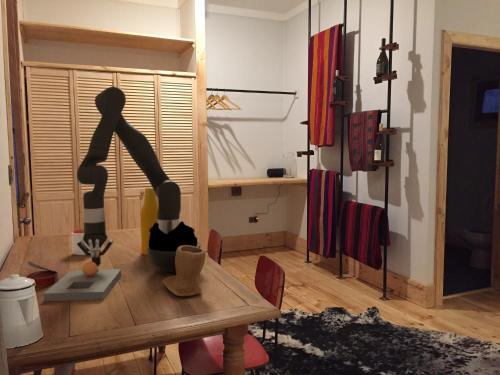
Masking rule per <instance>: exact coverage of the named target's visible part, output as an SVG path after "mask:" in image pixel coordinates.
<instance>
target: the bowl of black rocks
mask: <svg viewBox="0 0 500 375" xmlns="http://www.w3.org/2000/svg"><path fill="white" fill-rule="evenodd" d="M149 232H150V236H149V245H148V246H147V252H148V255H147V256H148V258H149V260H150V261H151V263H152V264H153V265H154V266H155V267H156V268H158V269H159V270H161V271H164V272H168V273H176V267H175V256H176V250H177V249H178V247H180V246H183V245H189V246H194V247H198V248H201V243H199V241H198V238H197V236H196V234H195V229H194V228H193V227H192V226H189V225H187V224H185V222H184V221H181V220H180V223H179V225H177V227H176V228H175V229H173V230H172V231H170V232H169V233H168V234H165V233H164V232H163V231H161V230H160V229H159V223H157V222H156V223H154V224H153V226H152V227H151V228H150V230H149Z"/></svg>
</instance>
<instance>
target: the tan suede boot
mask: <svg viewBox="0 0 500 375" xmlns="http://www.w3.org/2000/svg"><path fill="white" fill-rule="evenodd" d="M205 263H206V252H205V249H203V248H201V247H200V248H198V247H194V246H189V245H183V246H180V247H178V249H177V250H176V256H175V267H176V272H175V274H176V275H170V276H168V277H165V278H164V279H163V280H162V284H163V285H164V286H165V287H166V288H167V289H168V290H169V291H170V292H171V293H172V294H174V295H175V296H178V297H190V296H195V295H198V294H199V295H200V293H202V291H203V290H202V287H201V286H200V284H199V282H198V281H199V277H200V276H201V275H200V274H201V273H202V270H203V268H204V265H205Z"/></svg>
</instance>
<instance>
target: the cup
mask: <svg viewBox="0 0 500 375" xmlns="http://www.w3.org/2000/svg"><path fill="white" fill-rule="evenodd" d="M83 236H84V228H82V229H75V230H73V231H71V249H72V250H71V251H72V254H73V255H74V256H75V255H76V256H87V255H86V254H85V253H84V252H83V251H82V250H81V249H80V247H79V246H78V245H77V243H78V242H80V241H81V240H83ZM85 245H86V246H87V248H88V249H89V250H90V248H89V246H88V245H87V244H86V243H85Z"/></svg>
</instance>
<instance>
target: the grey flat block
mask: <svg viewBox="0 0 500 375" xmlns="http://www.w3.org/2000/svg"><path fill="white" fill-rule="evenodd" d="M121 277H122V269H121V268H119V269H117V268H115V269H113V268H112V269H97V272H96V273H95V274H94V275H92V276H87V275H85V274H84V273H83V271H82V270H81V269H80V270H78V269H77V270H70V271H68V272H67V273H66V274H65V275H64V276H62V277H61V278H60V279H58V282H56V283H55V284H52V286H50V287H49V289H47V290H46V291H45V292H44V293H43V301H44V302H64V301H67V302H68V301H69V302H70V301H99V300H100V301H101V300H103V301H104V300H105V299H106V297H107V296H108V295H109V293H110V292H111V290H112V289H113V288H114V286H115V285H116V284H117V282H118V281H119V279H120V278H121Z"/></svg>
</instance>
